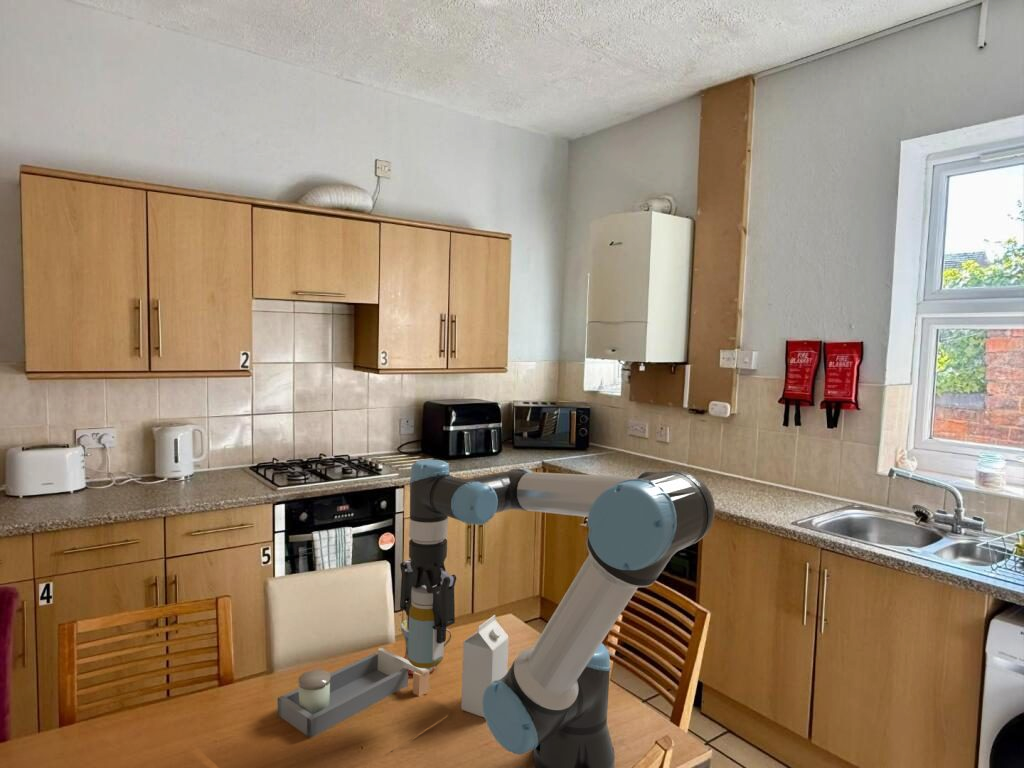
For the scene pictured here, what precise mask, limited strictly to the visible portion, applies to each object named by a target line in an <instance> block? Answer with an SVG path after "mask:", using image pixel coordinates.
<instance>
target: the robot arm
mask: <svg viewBox="0 0 1024 768" xmlns="http://www.w3.org/2000/svg"><path fill="white" fill-rule="evenodd" d="M409 479H410V480H409V526H408V527H409V528H408V537H409V539H410V540H409V541H408V559H409V560H406V561H403V562H401V563H400V564H399V567H400V572H401V581H400V597H399V598H400V600H399V609H400V610H401V611H404V612H405V614H406V616H407V618H406V619H407V622H408V623H407V624H408V625H407V628H408V630H409V609H410V607H411V604H412V603H411V600H412V599H411V591H412V587H413V586H414V587H415V588H418V587H420V586H423V585H425V586H426V589H427V592H428V593H433V604H432V606H433V608H432V610H433V614H434V622H435V625H434V626H432V627H433V657H432V660H435V659H437V658H439V657H441V656H443V657H444V652H445V651H444V649H445V647H444V644H445V643H446V641H447V631H446V629H447V628H448V627H449V626H452V625H454V624H455V622H456V621H455V619H456V618H455V616H456V613H455V611H456V610H455V609H456V608H455V586H456V581H457V575H455V574H451V575H450V573H448V572H446V571H447V569H446V567H445V560H446V558H447V557H448V539H447V537H448V517H449V518H452V519H454V520H458V521H460V522H462V523H465V524H469V525H471V524H472V525H476V526H482V525H485V524H487V523H488V522H489V521H490V520H491V519H492V518H493V517H494V515H495V514H497V513H498V514H499V513H501V512H502V513H503V512H505V511H510V510H517V511H528V512H540V513H547V514H556V515H558V514H559V515H566V516H577V517H583V518H584V517H585V518H587V522H586V523H587V525H586V526H587V527H588V528H589V532H588V533H587V537H586V549H587V551H588V555H587V558H586V559H585V561H584V562H583V564H582V565H581V567H580V569H579V571H578V572H577V574H576V576H575V577H574V579H573V580H572V582H571V584H570V586H569V587H568V589H567V591H566V592H565V594H564V596H563V597H562V599H561V601H560V602H559V604H558V606H557V607H556V608H555V610H554V612H553V614H552V615H551V617H550V619H549V620H548V622H547V624H546V626H545V628H544V629H543V630H542V633H541V634H540V636H539V638H538V639H537V641H536V643H535V644H534V645H533V646H532V647H531V646H530V647H527V648H525V649H523V650H522V651H520V652H519V653H518V655H517V656H516V657H515V660H514V661H513V662H512V665H511V666H510V668H509V670H507V674H506V675H505V676H504V677H503V678H502V679H500V680H495V681H493V683H492V684H491V685H489V686H488V687H487V688H486V690H485V692H484V695H483V712H484V715H485V718H484V719H485V722H486V724H487V727H488V729H489V731H490V733H491V734H492V736H493V738H494V739H495V741H497V743H498V744H499V745H500V746H501V747H502V749H503V748H504V749H505V751H507V752H509V753H513V754H515V755H523V754H526V753H528V752H531V751H532V750H533V761H534V765H535V767H536V768H615V759H616V758H615V757H616V755H615V753H616V752H615V748H614V745H613V741H612V738H611V735H610V734H611V733H610V730H609V726H608V709H609V707H608V706H609V704H608V703H609V688H610V687H609V686H610V671H611V664H610V663H611V662H610V660H611V659H610V656H611V655H610V651H609V650H608V648H607V646H606V645H604V643H603V641H604V640H605V639H606V637H607V635H608V634H609V632H610V631H611V629H612V628H613V627H614V624H615V623H616V621H617V620H618V619H619V617H620V616H621V614H622V613H623V611H624V610H625V608H626V607H627V605H628V603H629V602H630V600H631V599H632V597H633V596H634V595H635V593H636V591H637V590H638V588H647V587H650V586H652V585H653V584H654V583H655V582H656V581H657V580H658V578H659V576H660V575H661V573H662V572H663V571H664V569H665V568H666V567H667V564H668V563H669V562H670V560H671V558H672V557H673V556H674V555H675V554H676V553H677V552H679V551H681V550H683V549H686V548H687V547H690V546H692V545H694V544H696V543H698V542H699V541H701V540H702V539H703V538H704V537H705V536H706V535H707V534H708V532H710V529H711V527H712V526H713V523H714V520H715V515H716V514H715V513H716V506H715V501H714V497H713V494H712V493H711V491H710V490H709V487H708V486H707V485H706V484H705V483H704V482H703V481H702V480H701V479H700V478H699V477H697V476H696V475H694V474H692V473H690V472H687V471H684V470H667V471H643V472H641V473H639V474H638V475H637V476H620V475H618V476H617V475H600V474H579V473H576V474H575V473H561V472H560V473H559V472H557V473H556V472H539V471H532V470H531V469H528V468H513V469H510V470H508V471H503V472H502V471H501V472H497V473H492V474H485V475H480V476H476V477H474V476H473V477H470V478H461V477H456V476H452V475H451V472H450V465H449V463H448V462H446V461H444V460H440V459H422V460H417V461H414V462H413V463H412V465H411V468H410V478H409ZM435 585H437V586H435ZM433 586H435V587H433ZM436 592H438V593H439V594H437V593H436ZM441 619H442V620H441Z"/></svg>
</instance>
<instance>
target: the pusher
mask: <svg viewBox="0 0 1024 768" xmlns="http://www.w3.org/2000/svg"><path fill="white" fill-rule="evenodd" d="M377 654H378V670H379V671H381V672H382V673H384V674H386V675H388V676H390V675H392V674H394V673H395V672H397V671H399V670H401V669H403V668H407V669H409V670H411V671H413V674H412V694H414V695H415V696H417V697H421V696H422V695H423V696H424V695H425V694H427V693H429V692H430V675H431V672H430V670H428V669H426V668H418V667H415V666H413V665H412V664H411V663H410V662H409V661H408V660H406V659H404V657H402V656H401V655H398V654H395V653H394V652H391V651H390V650H387V649H385V648H383V647H380V648H378V649H377Z"/></svg>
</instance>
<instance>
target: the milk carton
mask: <svg viewBox="0 0 1024 768" xmlns="http://www.w3.org/2000/svg"><path fill="white" fill-rule="evenodd" d="M462 644H463V645H462V647H463V648H462V673H461V675H462V677H461V679H462V681H461V710H463V711H465V712H468V713H469V714H473V715H476V716H479V717H482V718H484V719H485V715H484V712H483V695H484V692H485V690H486V688H487V687H488V686H489V685H491V684H492V683H493V681H495V680H500V679H502V678H503V677H504V676H505V675H506V674H507V673H508V663H509V662H508V661H509V635H508V633H506V631H505V630H504V629H503V627H502V626H501V625H500V624H499V622H498V621H497V620H496V614H494V615H492V616H491V617H490V618H488V619H487V620H485V621H484V622H483V623H481V624H480V625H479V626H477V631H476V632H475V633H473V634H472V635H470V636H469V637H467V638H466V639H465V640H464V641H463V643H462Z"/></svg>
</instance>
